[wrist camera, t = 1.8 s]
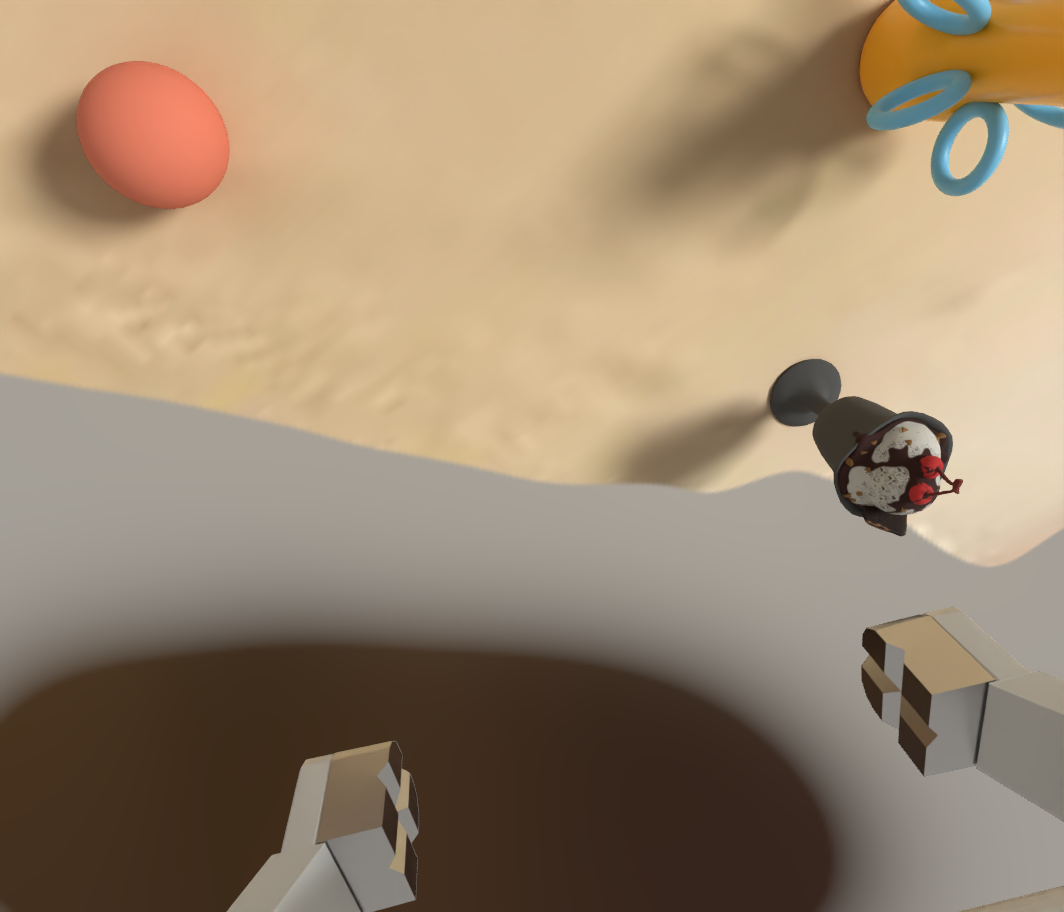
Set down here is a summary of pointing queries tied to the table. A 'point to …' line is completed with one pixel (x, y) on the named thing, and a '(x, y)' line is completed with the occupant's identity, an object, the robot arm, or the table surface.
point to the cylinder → (964, 72)
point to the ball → (152, 134)
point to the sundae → (867, 446)
